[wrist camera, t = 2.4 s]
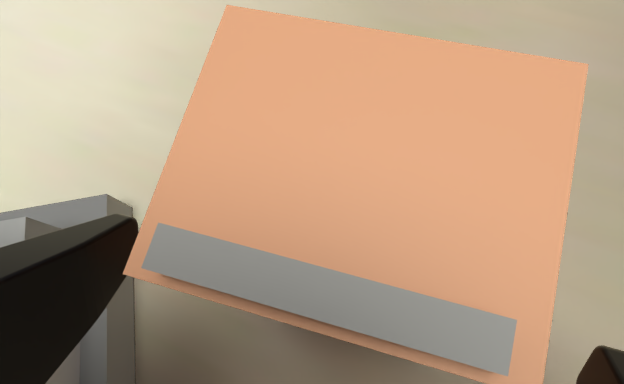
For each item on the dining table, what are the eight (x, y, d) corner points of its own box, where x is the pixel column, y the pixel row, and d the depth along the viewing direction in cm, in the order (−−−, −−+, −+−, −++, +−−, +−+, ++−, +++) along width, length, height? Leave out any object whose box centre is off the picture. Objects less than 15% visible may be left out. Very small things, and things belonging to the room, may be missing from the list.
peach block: (424, 354, 17) (560, 408, 5) (281, 312, 18) (98, 268, 6) (449, 236, 18) (609, 37, 6) (313, 203, 19) (215, -23, 7)
